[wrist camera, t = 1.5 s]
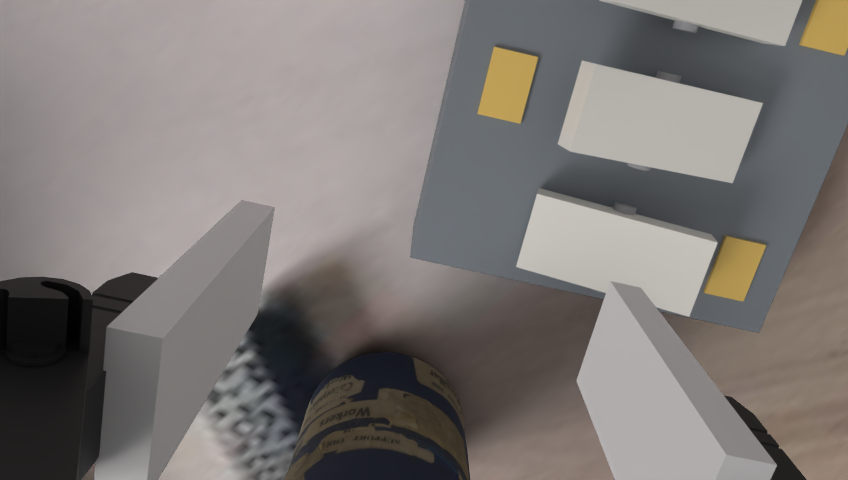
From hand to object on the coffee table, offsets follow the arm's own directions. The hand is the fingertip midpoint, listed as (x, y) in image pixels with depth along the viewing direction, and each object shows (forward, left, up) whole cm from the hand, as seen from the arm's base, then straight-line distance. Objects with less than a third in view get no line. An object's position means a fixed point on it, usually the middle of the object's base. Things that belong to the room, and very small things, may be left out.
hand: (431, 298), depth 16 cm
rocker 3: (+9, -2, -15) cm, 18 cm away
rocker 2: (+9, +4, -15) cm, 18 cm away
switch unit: (+9, +4, -21) cm, 23 cm away
